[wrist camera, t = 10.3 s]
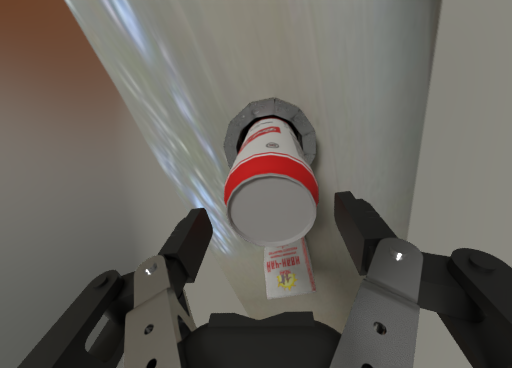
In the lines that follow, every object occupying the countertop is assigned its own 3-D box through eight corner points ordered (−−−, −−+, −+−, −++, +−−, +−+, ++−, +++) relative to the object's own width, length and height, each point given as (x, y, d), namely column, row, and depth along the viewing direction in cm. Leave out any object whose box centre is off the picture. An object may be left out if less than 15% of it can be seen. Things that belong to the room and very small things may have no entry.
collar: (213, 138, 25) (206, 144, 22) (276, 77, 21) (277, 76, 18) (264, 191, 28) (263, 202, 26) (326, 148, 24) (333, 156, 22)
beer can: (302, 144, 24) (347, 226, 10) (265, 169, 26) (259, 265, 12) (276, 104, 22) (286, 137, 8) (237, 135, 24) (192, 203, 10)
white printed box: (306, 242, 33) (319, 299, 24) (271, 250, 35) (271, 306, 26) (301, 228, 32) (312, 283, 23) (265, 236, 33) (262, 291, 24)
